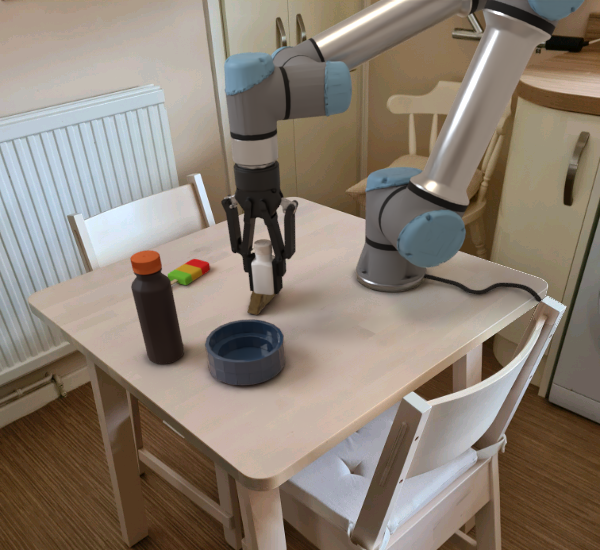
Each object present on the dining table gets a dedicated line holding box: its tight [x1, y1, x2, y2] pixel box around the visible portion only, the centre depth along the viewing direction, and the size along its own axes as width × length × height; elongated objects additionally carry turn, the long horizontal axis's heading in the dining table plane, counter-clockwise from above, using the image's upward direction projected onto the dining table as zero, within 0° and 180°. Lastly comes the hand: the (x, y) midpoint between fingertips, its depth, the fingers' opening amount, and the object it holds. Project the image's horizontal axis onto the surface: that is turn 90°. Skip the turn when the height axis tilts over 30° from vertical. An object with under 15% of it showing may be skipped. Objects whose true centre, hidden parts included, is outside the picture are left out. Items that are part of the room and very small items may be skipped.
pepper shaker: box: [251, 238, 275, 295], centre depth 113 cm, size 4×4×10 cm
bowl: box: [204, 318, 286, 386], centre depth 111 cm, size 14×14×6 cm
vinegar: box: [129, 249, 185, 365], centre depth 110 cm, size 7×7×20 cm
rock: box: [247, 254, 277, 316], centre depth 128 cm, size 11×9×10 cm
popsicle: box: [167, 258, 211, 286], centre depth 139 cm, size 6×15×2 cm, turn 147°
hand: (266, 289), depth 115 cm, fingers closed on pepper shaker, 4 cm apart
